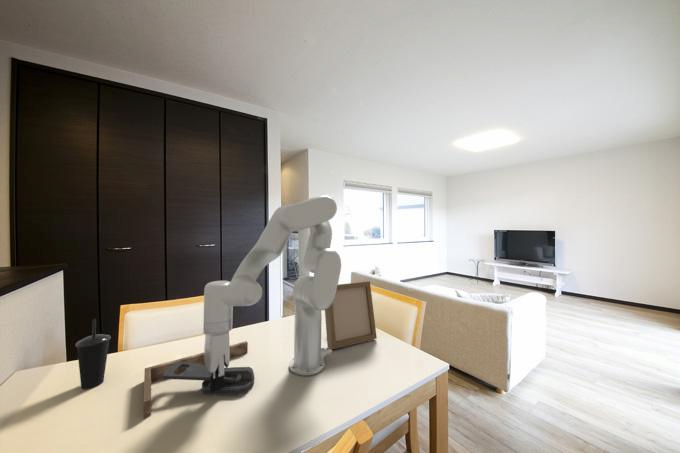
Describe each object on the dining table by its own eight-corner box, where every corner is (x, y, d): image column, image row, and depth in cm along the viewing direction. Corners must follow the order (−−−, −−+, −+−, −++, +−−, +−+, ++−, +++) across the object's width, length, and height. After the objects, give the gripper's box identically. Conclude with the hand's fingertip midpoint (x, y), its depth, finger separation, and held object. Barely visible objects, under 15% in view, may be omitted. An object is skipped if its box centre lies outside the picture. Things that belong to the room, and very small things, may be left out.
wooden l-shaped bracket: (246, 351, 96) (246, 341, 96) (264, 373, 82) (264, 361, 82) (144, 381, 77) (144, 368, 77) (143, 417, 62) (143, 402, 62)
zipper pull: (176, 359, 77) (257, 356, 80) (175, 381, 77) (256, 376, 80) (158, 376, 69) (250, 372, 71) (157, 400, 68) (249, 395, 71)
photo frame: (376, 340, 107) (377, 283, 107) (332, 351, 97) (332, 288, 97) (358, 328, 120) (359, 277, 120) (317, 337, 110) (318, 281, 110)
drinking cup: (68, 395, 70) (70, 325, 70) (81, 380, 77) (83, 317, 77) (104, 388, 73) (105, 321, 74) (113, 374, 80) (115, 313, 81)
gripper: (198, 320, 74) (197, 381, 73) (209, 337, 62) (207, 410, 62) (225, 315, 78) (224, 372, 78) (239, 330, 67) (238, 397, 66)
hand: (216, 389), depth 70 cm, fingers closed
